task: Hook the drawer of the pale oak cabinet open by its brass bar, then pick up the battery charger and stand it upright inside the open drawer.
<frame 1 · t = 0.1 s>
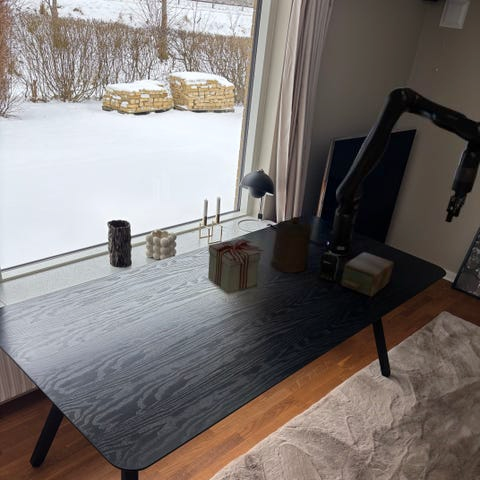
hand: (451, 219, 190), 29 cm above the table, tool pointing down, fingers open, 8 cm apart
drawer: (361, 277, 196), point 5 cm above the table, slide at 0.5 cm
wooden container: (288, 265, 213), on the table
gift box: (235, 283, 196), on the table
cabinet: (365, 284, 202), on the table
battery charger: (326, 279, 204), on the table
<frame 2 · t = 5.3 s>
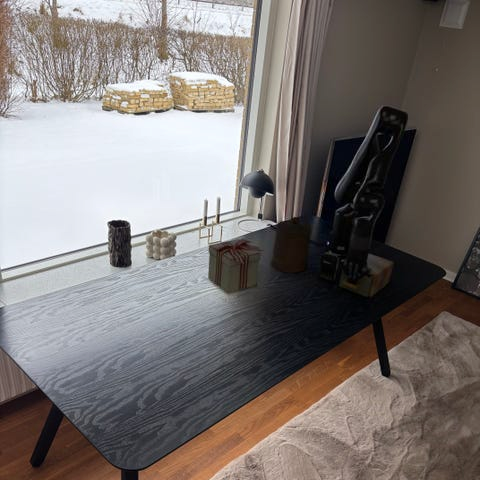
hand: (351, 286, 189), 5 cm above the table, tool pointing down, fingers closed
drawer: (360, 279, 195), point 5 cm above the table, slide at 2.1 cm
everything else where it was.
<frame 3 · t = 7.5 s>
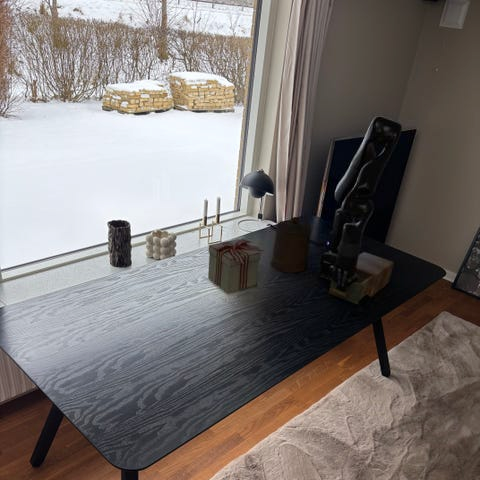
hand: (340, 293, 184), 5 cm above the table, tool pointing down, fingers closed
drawer: (350, 285, 189), point 5 cm above the table, slide at 10.4 cm
everything else where it was.
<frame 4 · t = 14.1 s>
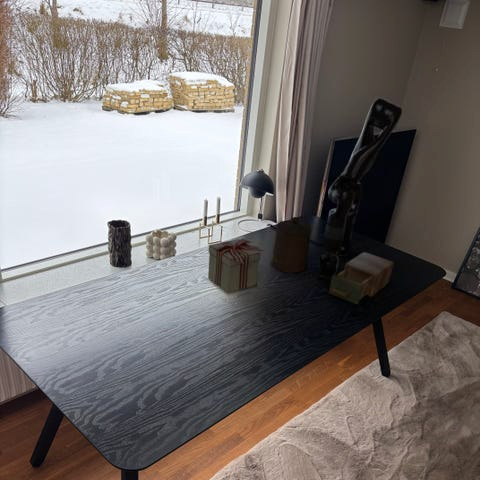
hand: (327, 273, 202), 3 cm above the table, tool pointing down, fingers closed on battery charger, 4 cm apart
battery charger: (326, 279, 204), on the table, touching gripper
everything else where it was.
when the fingers open (5 cm above the table, at t = 21.8 s): battery charger stays where it is, resting on drawer.
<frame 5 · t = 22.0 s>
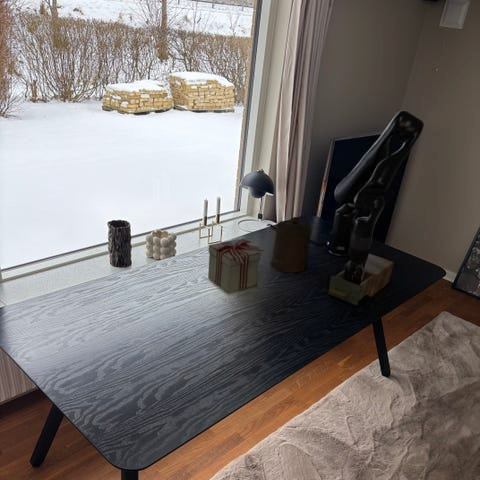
hand: (351, 285, 190), 5 cm above the table, tool pointing down, fingers open, 5 cm apart
drawer: (349, 286, 189), point 5 cm above the table, slide at 11.1 cm, touching battery charger, gripper
battery charger: (349, 292, 191), point 2 cm above the table, touching drawer, gripper
everything else where it was.
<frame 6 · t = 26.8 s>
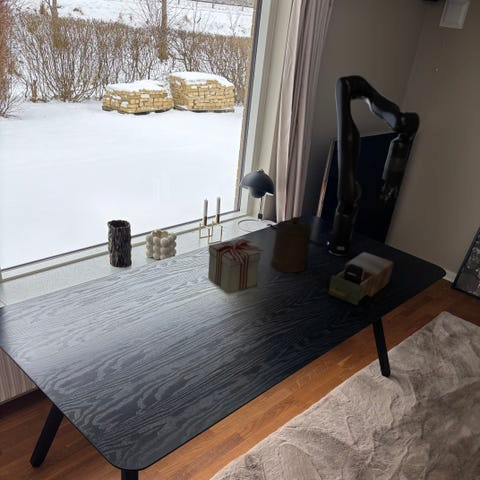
hand: (385, 208, 193), 30 cm above the table, tool pointing down, fingers open, 8 cm apart
drawer: (349, 286, 189), point 5 cm above the table, slide at 11.0 cm, touching battery charger
battery charger: (349, 292, 191), point 2 cm above the table, touching drawer
everything else where it was.
at the end: drawer slide at 11.0 cm; battery charger inside the target area in the drawer (0.5 cm from its centre), point 1.9 cm above the cabinet's base; battery charger tilted 0° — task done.
